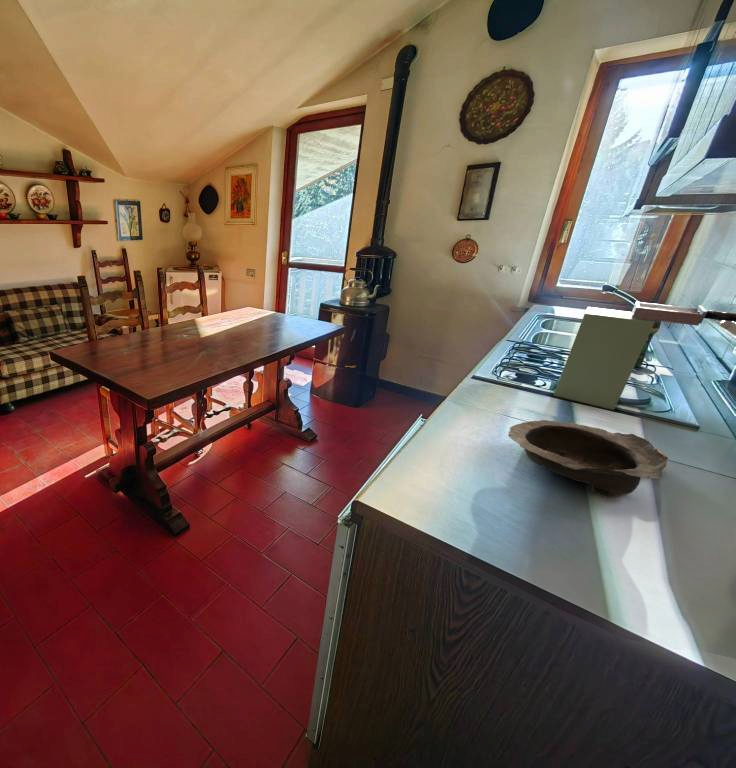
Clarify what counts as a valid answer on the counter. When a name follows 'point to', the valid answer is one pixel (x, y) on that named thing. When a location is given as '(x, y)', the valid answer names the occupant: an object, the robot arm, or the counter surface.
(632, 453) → the stone bowl
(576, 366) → the sage green block
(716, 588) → the counter surface
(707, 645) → the counter surface
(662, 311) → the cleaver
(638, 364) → the coffee jar
